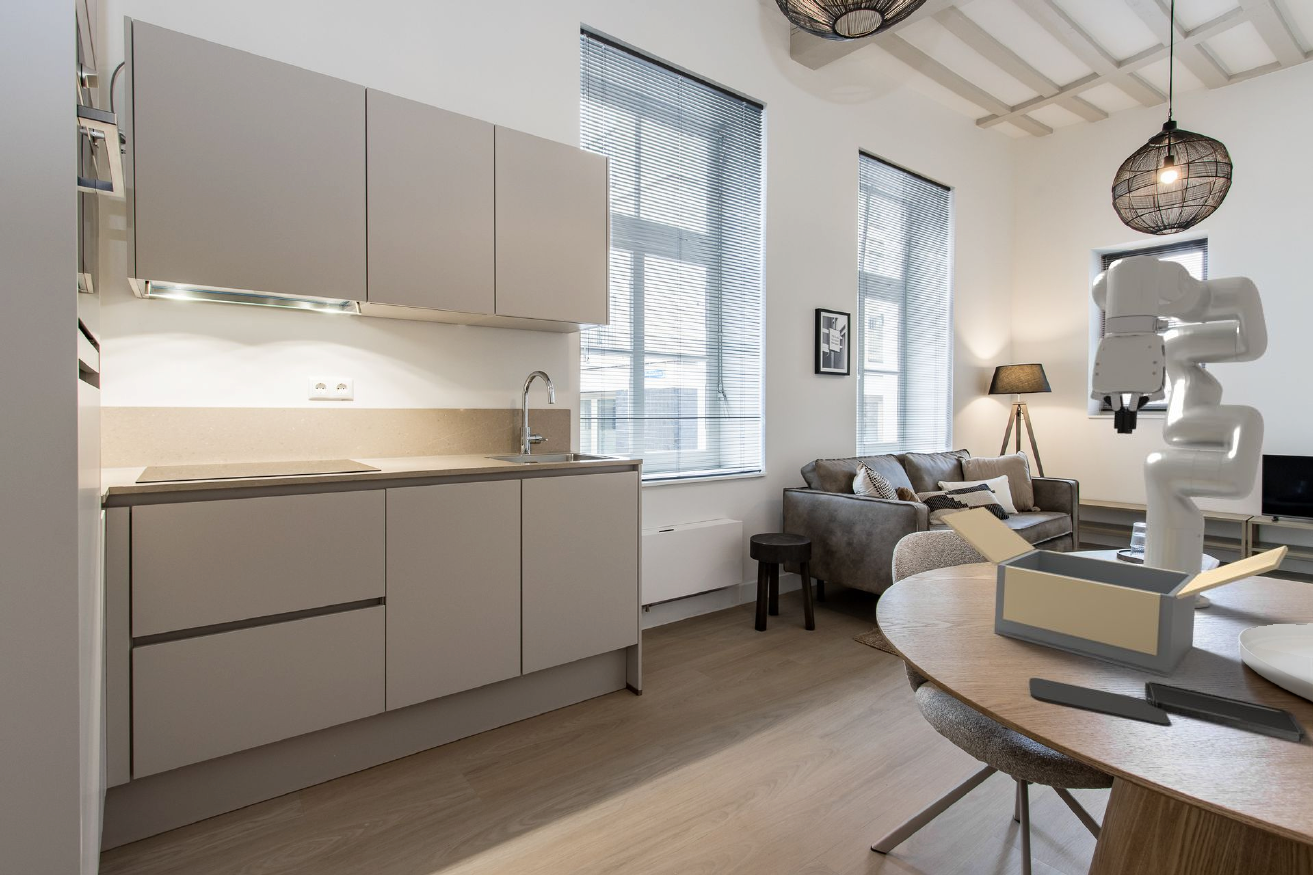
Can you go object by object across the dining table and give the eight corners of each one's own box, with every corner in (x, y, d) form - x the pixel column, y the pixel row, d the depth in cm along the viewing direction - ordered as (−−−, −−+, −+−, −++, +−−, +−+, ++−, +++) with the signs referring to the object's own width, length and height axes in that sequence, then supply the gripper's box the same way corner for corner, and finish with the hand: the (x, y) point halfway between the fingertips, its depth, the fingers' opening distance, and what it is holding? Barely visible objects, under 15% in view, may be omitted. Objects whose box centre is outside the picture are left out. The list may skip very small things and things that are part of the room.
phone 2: (1144, 680, 90) (1292, 711, 82) (1144, 688, 91) (1291, 719, 82) (1146, 700, 84) (1307, 735, 75) (1146, 708, 84) (1306, 745, 75)
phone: (1172, 725, 79) (1030, 695, 86) (1172, 732, 79) (1030, 701, 86) (1159, 701, 85) (1029, 676, 92) (1159, 708, 85) (1028, 681, 92)
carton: (1034, 609, 125) (1037, 548, 125) (1193, 645, 108) (1197, 574, 107) (992, 633, 111) (996, 564, 111) (1167, 678, 93) (1172, 597, 93)
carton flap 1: (1035, 548, 124) (1033, 550, 125) (983, 506, 131) (981, 508, 132) (996, 562, 111) (994, 565, 112) (941, 515, 118) (939, 518, 118)
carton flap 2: (1285, 545, 99) (1288, 549, 99) (1198, 574, 106) (1200, 577, 106) (1274, 564, 86) (1277, 568, 85) (1175, 595, 93) (1178, 599, 93)
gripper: (1188, 328, 110) (1182, 435, 111) (1087, 334, 121) (1081, 431, 122) (1180, 323, 105) (1174, 435, 106) (1075, 330, 116) (1069, 432, 117)
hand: (1124, 433), depth 114 cm, fingers closed
